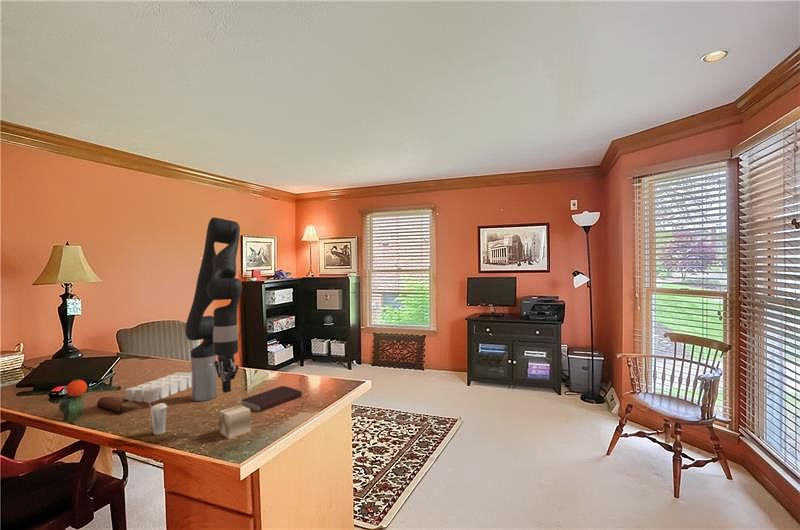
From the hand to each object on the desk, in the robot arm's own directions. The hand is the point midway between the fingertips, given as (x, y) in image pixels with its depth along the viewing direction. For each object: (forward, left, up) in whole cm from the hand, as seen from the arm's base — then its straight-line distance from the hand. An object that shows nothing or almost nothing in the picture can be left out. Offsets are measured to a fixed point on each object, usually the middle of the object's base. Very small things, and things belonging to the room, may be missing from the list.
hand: (226, 391), depth 126 cm
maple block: (+1, 0, -8) cm, 9 cm away
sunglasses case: (-54, -17, -13) cm, 58 cm away
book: (-12, +23, -13) cm, 29 cm away
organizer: (-64, +5, -13) cm, 65 cm away
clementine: (-86, -25, -12) cm, 91 cm away
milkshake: (-14, -16, -12) cm, 24 cm away
